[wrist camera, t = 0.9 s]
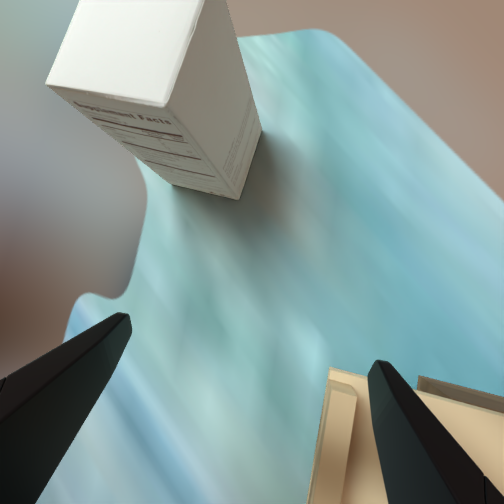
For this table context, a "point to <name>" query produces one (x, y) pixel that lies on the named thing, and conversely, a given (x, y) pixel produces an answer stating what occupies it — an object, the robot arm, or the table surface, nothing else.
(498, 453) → the lid
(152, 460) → the table surface
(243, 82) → the supplement box
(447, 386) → the walnut box
